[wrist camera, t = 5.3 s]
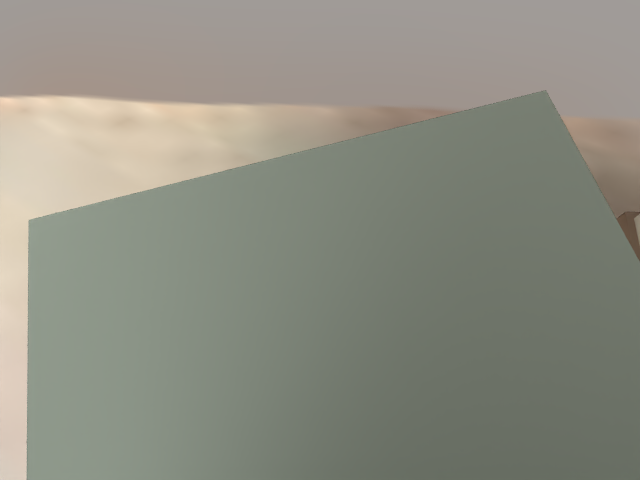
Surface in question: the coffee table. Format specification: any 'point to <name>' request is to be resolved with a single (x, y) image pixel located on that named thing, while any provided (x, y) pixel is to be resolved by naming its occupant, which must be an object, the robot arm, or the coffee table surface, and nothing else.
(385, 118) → the coffee table surface
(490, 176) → the sage pillar
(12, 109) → the coffee table surface
